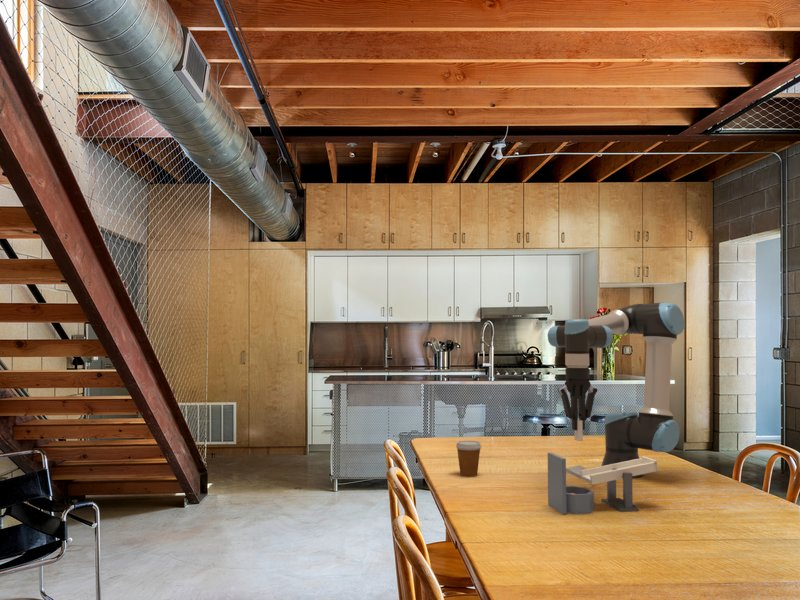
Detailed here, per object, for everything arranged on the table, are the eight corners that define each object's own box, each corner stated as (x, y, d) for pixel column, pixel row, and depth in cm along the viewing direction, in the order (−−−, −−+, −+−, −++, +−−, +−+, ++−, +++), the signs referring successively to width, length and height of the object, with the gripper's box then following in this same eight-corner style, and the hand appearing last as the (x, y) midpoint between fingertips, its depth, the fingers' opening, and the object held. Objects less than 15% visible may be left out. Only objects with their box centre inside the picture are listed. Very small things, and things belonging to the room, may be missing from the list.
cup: (582, 503, 194) (581, 451, 195) (599, 512, 183) (598, 457, 184) (547, 504, 191) (547, 452, 192) (563, 514, 181) (562, 459, 182)
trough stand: (619, 501, 196) (618, 465, 197) (638, 510, 185) (638, 473, 186) (601, 501, 195) (601, 466, 196) (620, 511, 184) (619, 474, 185)
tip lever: (626, 460, 207) (625, 450, 207) (658, 472, 189) (657, 460, 189) (566, 473, 202) (564, 462, 202) (593, 486, 185) (591, 474, 185)
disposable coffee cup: (480, 478, 226) (480, 445, 227) (454, 477, 228) (454, 444, 229) (482, 472, 236) (482, 440, 236) (457, 471, 238) (457, 439, 238)
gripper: (590, 365, 206) (591, 437, 205) (553, 366, 204) (554, 439, 202) (601, 367, 199) (603, 441, 198) (563, 367, 196) (565, 443, 195)
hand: (578, 440), depth 200 cm, fingers closed
